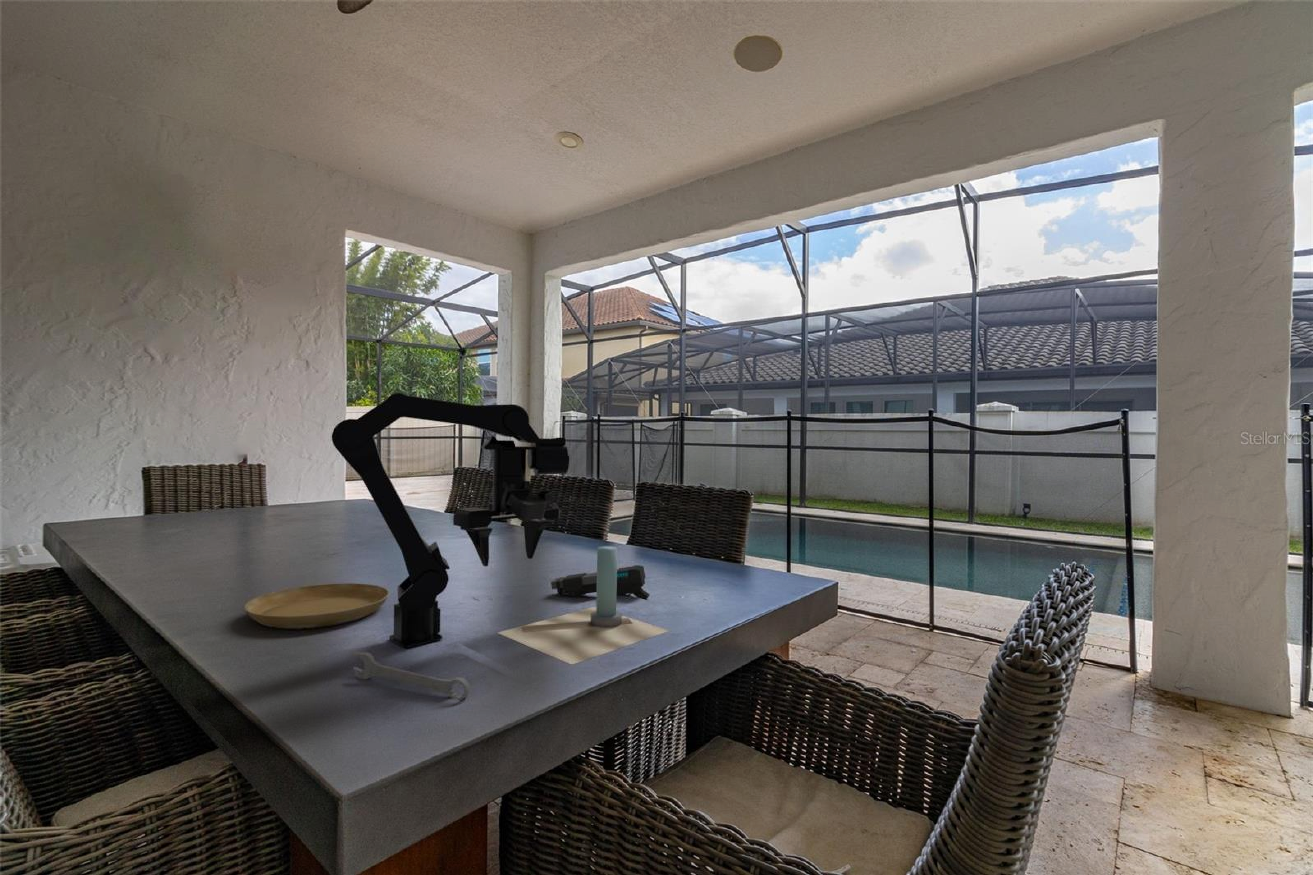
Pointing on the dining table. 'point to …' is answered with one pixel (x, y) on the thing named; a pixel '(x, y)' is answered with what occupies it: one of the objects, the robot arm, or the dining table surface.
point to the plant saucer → (316, 605)
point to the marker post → (606, 589)
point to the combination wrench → (408, 677)
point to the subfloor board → (580, 636)
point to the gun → (587, 583)
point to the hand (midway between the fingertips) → (508, 562)
